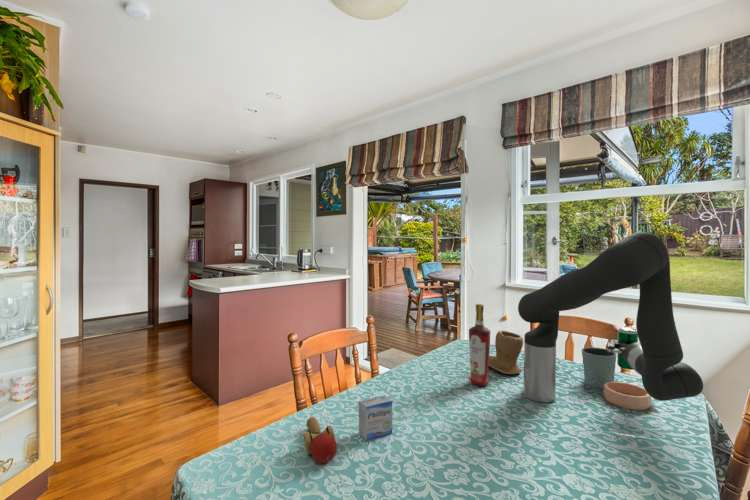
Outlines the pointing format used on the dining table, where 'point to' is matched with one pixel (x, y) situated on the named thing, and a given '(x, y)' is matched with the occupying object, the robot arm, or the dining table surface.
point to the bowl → (627, 395)
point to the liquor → (479, 349)
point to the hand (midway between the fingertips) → (624, 343)
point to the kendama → (320, 442)
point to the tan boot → (506, 352)
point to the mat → (651, 409)
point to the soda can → (626, 337)
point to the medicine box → (375, 417)
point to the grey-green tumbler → (598, 366)
